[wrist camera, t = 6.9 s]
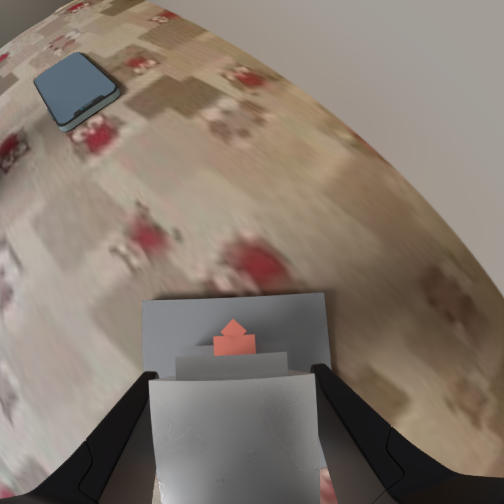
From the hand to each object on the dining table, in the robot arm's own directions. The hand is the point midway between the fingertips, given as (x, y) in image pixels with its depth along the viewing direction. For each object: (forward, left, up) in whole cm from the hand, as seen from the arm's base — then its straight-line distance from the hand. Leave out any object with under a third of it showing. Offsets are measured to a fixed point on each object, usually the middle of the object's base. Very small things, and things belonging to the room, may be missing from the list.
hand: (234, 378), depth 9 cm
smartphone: (+15, +31, -12) cm, 37 cm away
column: (-1, -1, -6) cm, 6 cm away
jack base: (-1, -1, -11) cm, 11 cm away
